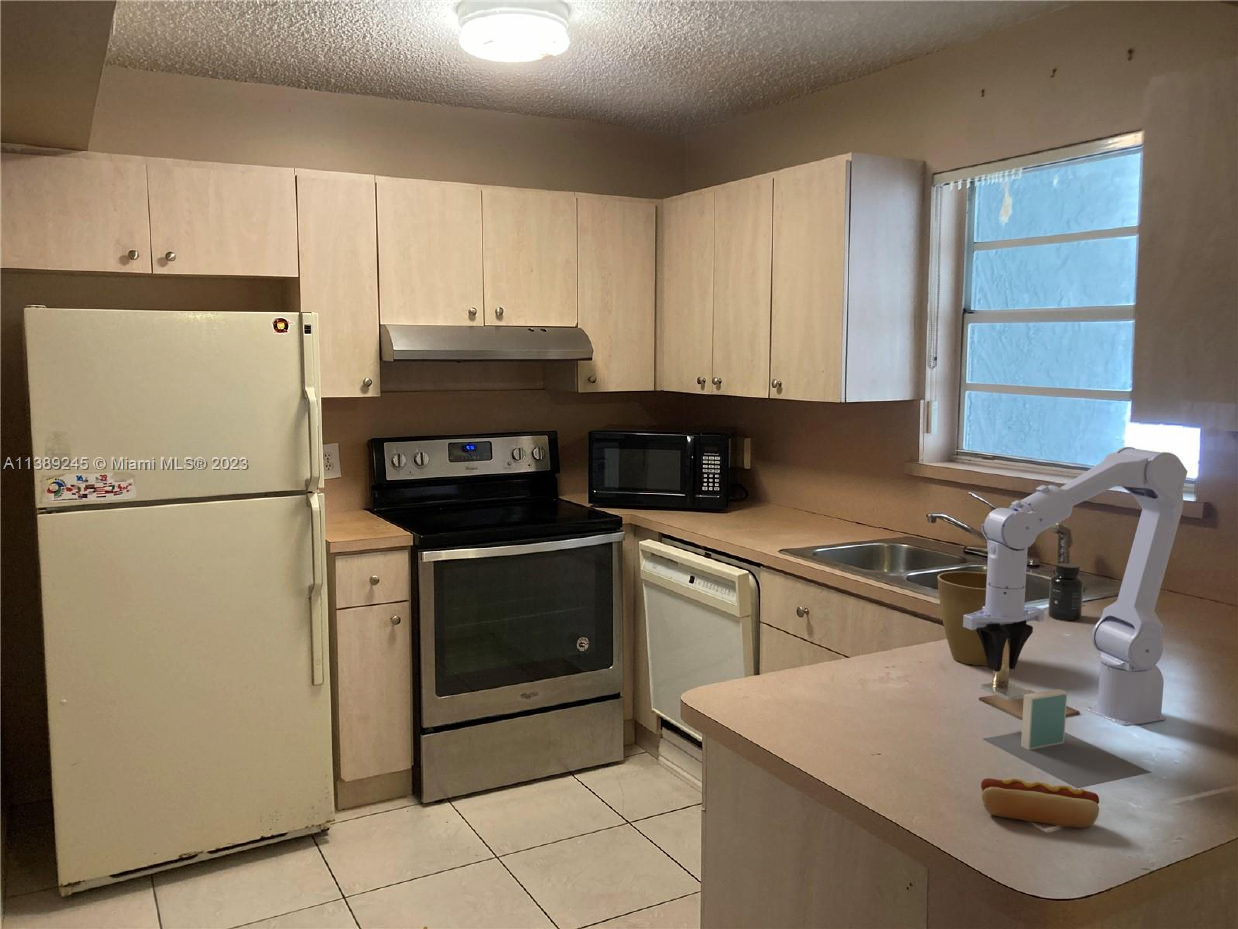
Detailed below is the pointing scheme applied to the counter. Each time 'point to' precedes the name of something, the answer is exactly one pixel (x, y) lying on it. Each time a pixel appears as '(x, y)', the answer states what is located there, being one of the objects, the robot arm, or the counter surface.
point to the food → (1040, 802)
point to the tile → (1043, 719)
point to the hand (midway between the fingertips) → (1001, 668)
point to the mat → (1070, 760)
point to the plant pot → (962, 613)
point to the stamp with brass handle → (1005, 679)
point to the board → (1015, 706)
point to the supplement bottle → (1066, 593)
